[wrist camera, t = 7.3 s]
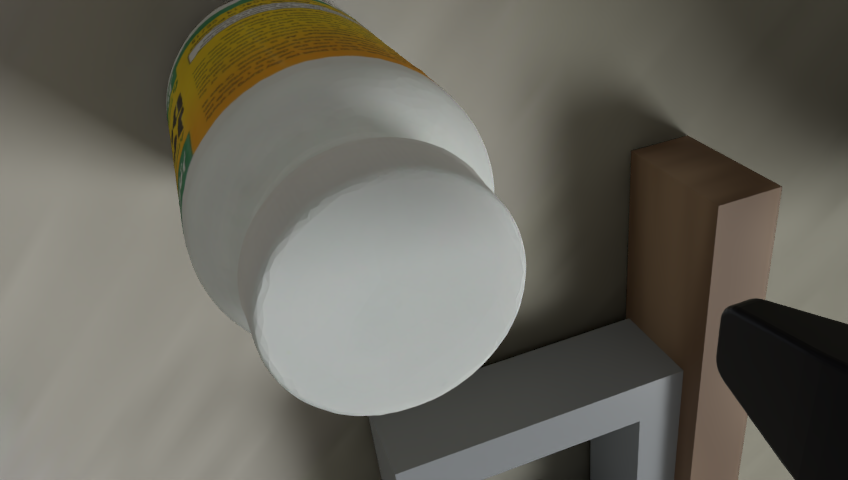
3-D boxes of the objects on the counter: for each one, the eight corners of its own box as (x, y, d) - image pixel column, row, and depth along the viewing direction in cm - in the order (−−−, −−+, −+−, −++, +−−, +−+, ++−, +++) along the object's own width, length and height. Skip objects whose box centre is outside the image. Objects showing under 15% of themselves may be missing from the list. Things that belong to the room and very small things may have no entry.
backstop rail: (687, 135, 23) (782, 186, 20) (654, 573, 34) (711, 653, 31) (631, 150, 22) (718, 205, 19) (616, 590, 34) (670, 672, 31)
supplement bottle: (409, 150, 20) (597, 360, 12) (223, 231, 19) (292, 512, 11) (342, -51, 17) (533, 52, 9) (118, 36, 16) (115, 232, 8)
